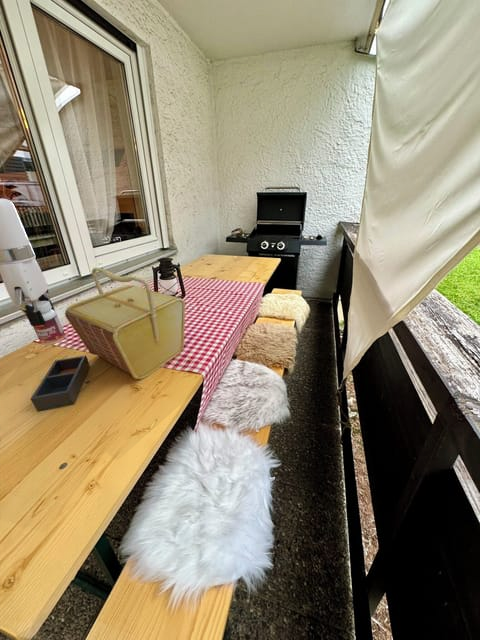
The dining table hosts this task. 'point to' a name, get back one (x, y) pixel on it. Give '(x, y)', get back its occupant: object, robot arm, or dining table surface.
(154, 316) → the picnic basket
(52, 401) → the holder
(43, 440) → the dining table surface
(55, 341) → the pill bottle
